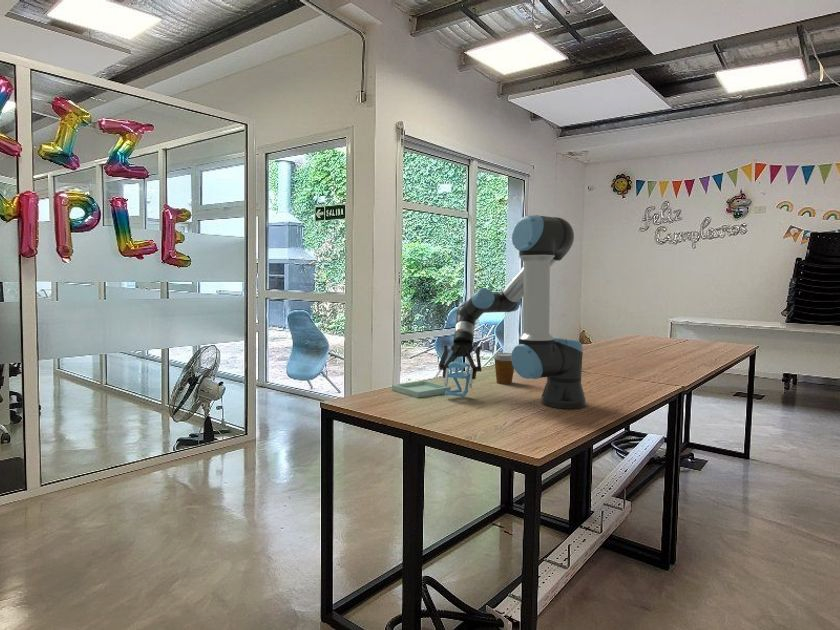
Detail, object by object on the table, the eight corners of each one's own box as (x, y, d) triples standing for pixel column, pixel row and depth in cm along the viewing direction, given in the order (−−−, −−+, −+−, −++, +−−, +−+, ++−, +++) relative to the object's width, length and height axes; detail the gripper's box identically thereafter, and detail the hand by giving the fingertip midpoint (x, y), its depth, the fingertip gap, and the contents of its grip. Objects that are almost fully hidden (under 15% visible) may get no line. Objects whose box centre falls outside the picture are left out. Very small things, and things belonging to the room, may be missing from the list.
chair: (473, 393, 203) (474, 360, 202) (463, 396, 196) (464, 363, 195) (454, 390, 207) (455, 358, 206) (444, 394, 200) (444, 361, 199)
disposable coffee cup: (490, 380, 236) (491, 352, 235) (512, 380, 237) (513, 352, 236) (495, 385, 226) (496, 356, 225) (518, 384, 227) (519, 356, 226)
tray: (424, 385, 224) (424, 380, 223) (450, 392, 211) (450, 386, 211) (391, 390, 214) (391, 384, 213) (417, 397, 201) (417, 392, 201)
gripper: (491, 342, 213) (487, 392, 199) (437, 341, 217) (430, 389, 203) (490, 330, 208) (487, 380, 193) (435, 329, 212) (427, 378, 197)
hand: (458, 385), depth 198 cm, fingers closed on chair, 8 cm apart
